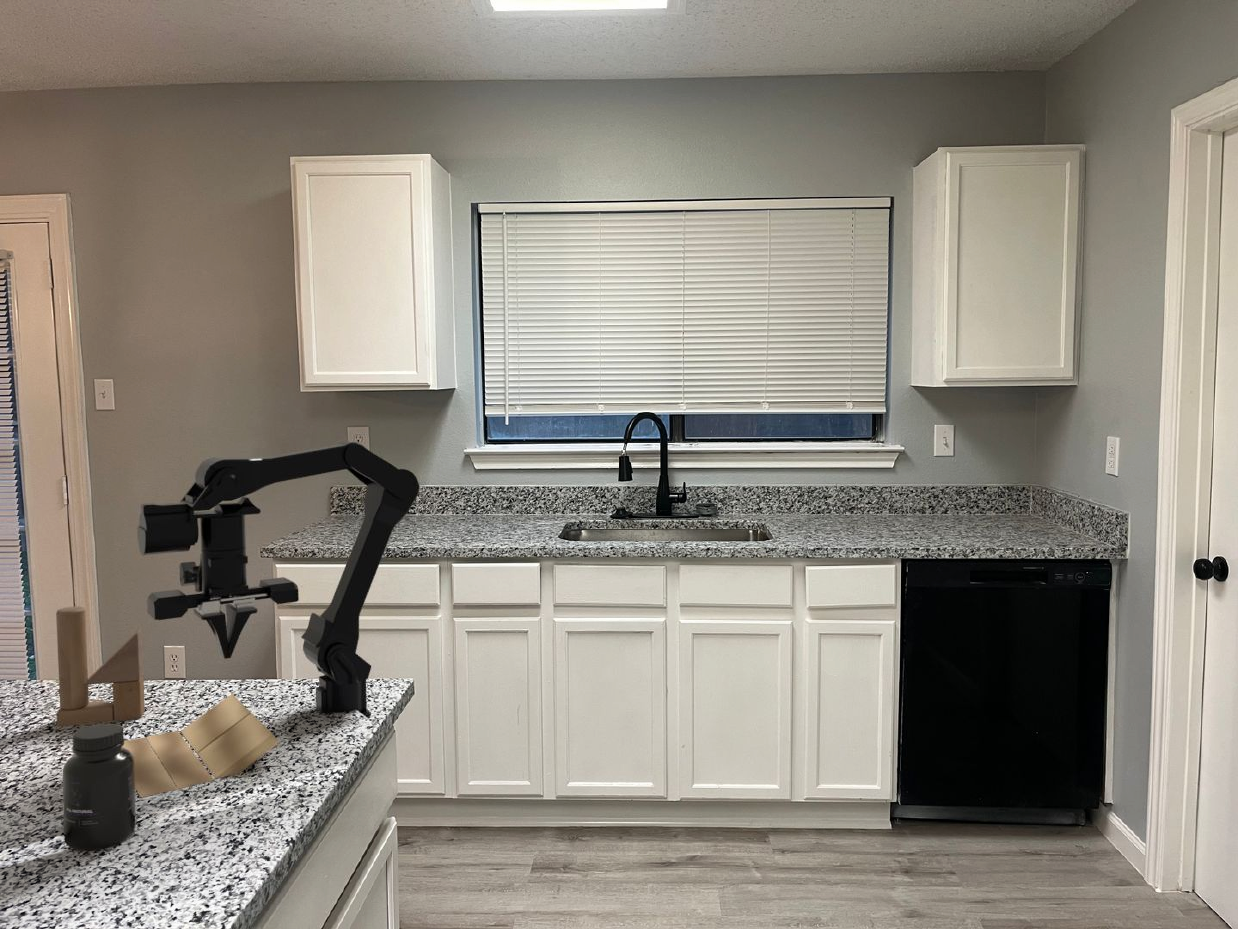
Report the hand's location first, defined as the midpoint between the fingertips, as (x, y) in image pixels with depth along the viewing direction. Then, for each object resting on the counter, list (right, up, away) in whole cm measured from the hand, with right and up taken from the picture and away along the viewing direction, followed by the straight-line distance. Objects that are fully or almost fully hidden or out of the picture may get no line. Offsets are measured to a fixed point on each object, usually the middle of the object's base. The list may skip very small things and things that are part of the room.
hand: (226, 658), depth 125 cm
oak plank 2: (+6, -10, -9) cm, 15 cm away
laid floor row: (-4, -13, -10) cm, 17 cm away
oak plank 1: (0, -10, -1) cm, 10 cm away
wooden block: (-20, -12, +5) cm, 24 cm away
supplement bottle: (-2, -14, -27) cm, 31 cm away
